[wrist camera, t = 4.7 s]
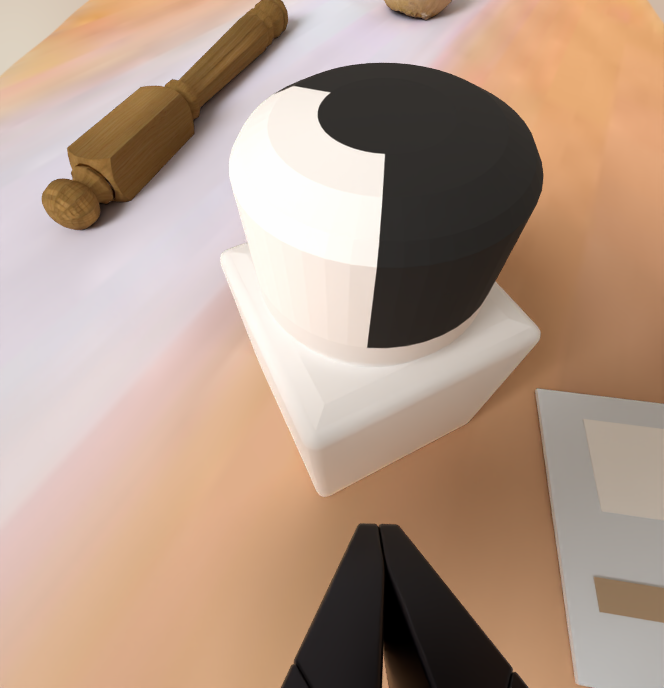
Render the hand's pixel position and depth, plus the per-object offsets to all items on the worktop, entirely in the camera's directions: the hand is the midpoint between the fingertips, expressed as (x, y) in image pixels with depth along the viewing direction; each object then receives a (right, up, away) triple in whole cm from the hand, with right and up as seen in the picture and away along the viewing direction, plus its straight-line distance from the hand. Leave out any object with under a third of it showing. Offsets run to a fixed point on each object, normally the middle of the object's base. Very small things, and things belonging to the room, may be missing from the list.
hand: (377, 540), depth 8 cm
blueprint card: (+11, -3, +6) cm, 13 cm away
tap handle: (-11, +23, +22) cm, 34 cm away
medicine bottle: (0, +2, +9) cm, 10 cm away
